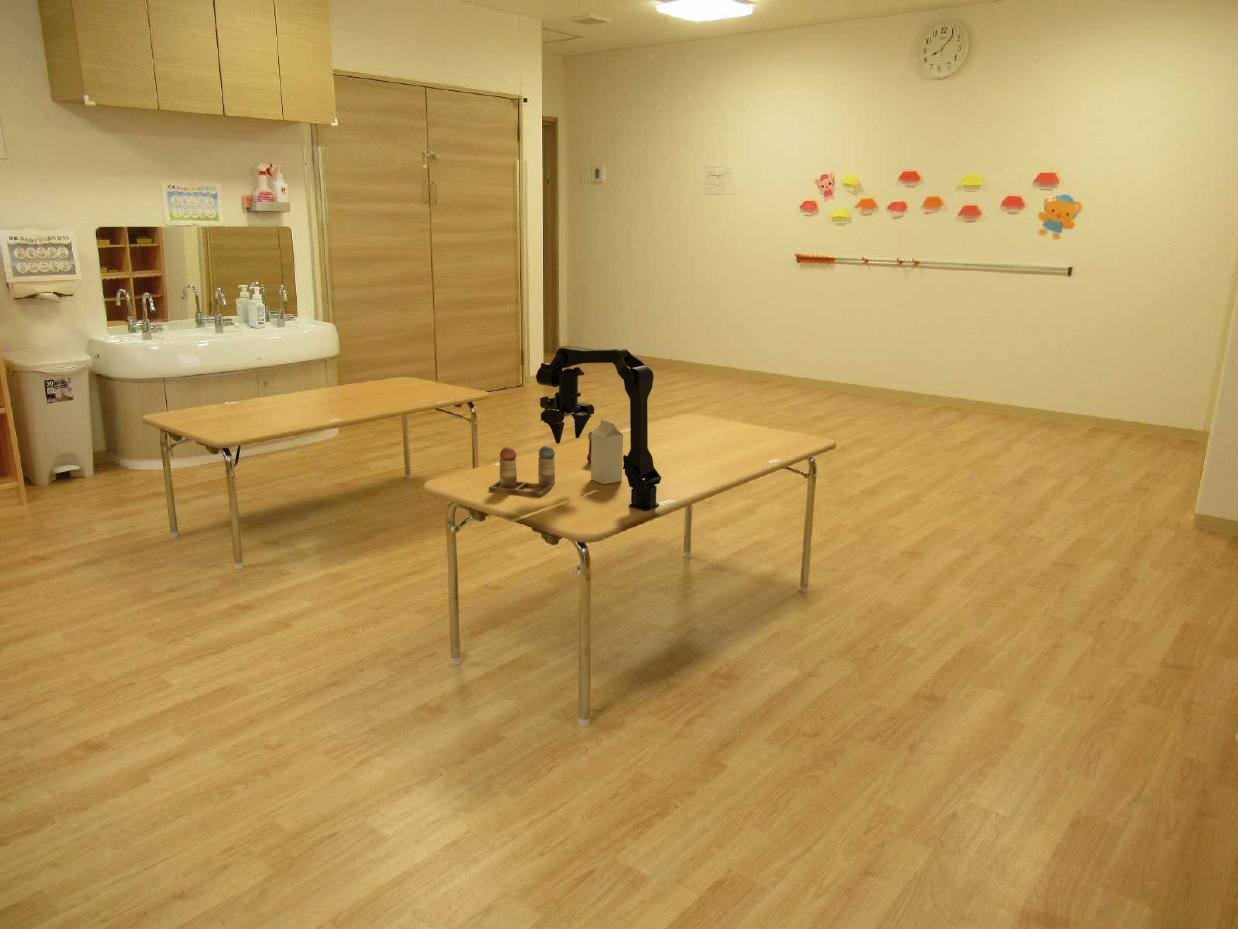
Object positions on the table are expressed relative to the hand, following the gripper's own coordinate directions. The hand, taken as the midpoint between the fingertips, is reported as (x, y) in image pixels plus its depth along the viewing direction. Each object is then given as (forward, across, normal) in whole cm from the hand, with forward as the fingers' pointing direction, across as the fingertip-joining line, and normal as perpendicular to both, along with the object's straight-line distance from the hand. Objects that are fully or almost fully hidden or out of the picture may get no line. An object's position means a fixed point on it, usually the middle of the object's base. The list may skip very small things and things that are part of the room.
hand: (567, 440), depth 270 cm
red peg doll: (+14, +14, -11) cm, 23 cm away
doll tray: (+15, +13, -7) cm, 21 cm away
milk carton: (+15, -14, +4) cm, 21 cm away
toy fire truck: (+15, -30, -9) cm, 35 cm away
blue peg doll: (+15, +3, -6) cm, 16 cm away
